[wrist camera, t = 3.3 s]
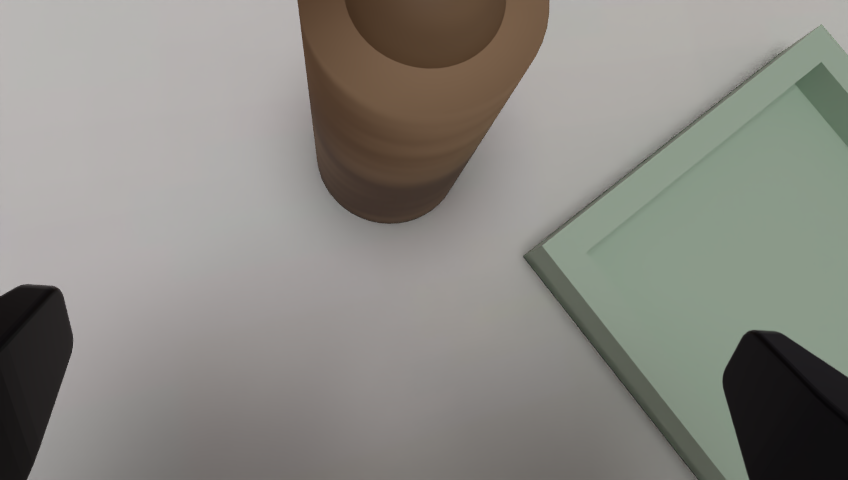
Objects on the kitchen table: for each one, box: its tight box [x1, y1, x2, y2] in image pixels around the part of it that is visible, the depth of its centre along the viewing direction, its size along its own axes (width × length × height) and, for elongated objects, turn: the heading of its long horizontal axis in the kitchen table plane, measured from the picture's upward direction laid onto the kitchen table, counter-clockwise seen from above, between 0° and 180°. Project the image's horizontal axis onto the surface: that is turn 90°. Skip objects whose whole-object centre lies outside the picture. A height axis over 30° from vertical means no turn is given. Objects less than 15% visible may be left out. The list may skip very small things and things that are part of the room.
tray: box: [523, 24, 848, 480], centre depth 22 cm, size 13×13×2 cm
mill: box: [298, 0, 549, 223], centre depth 17 cm, size 5×5×11 cm
